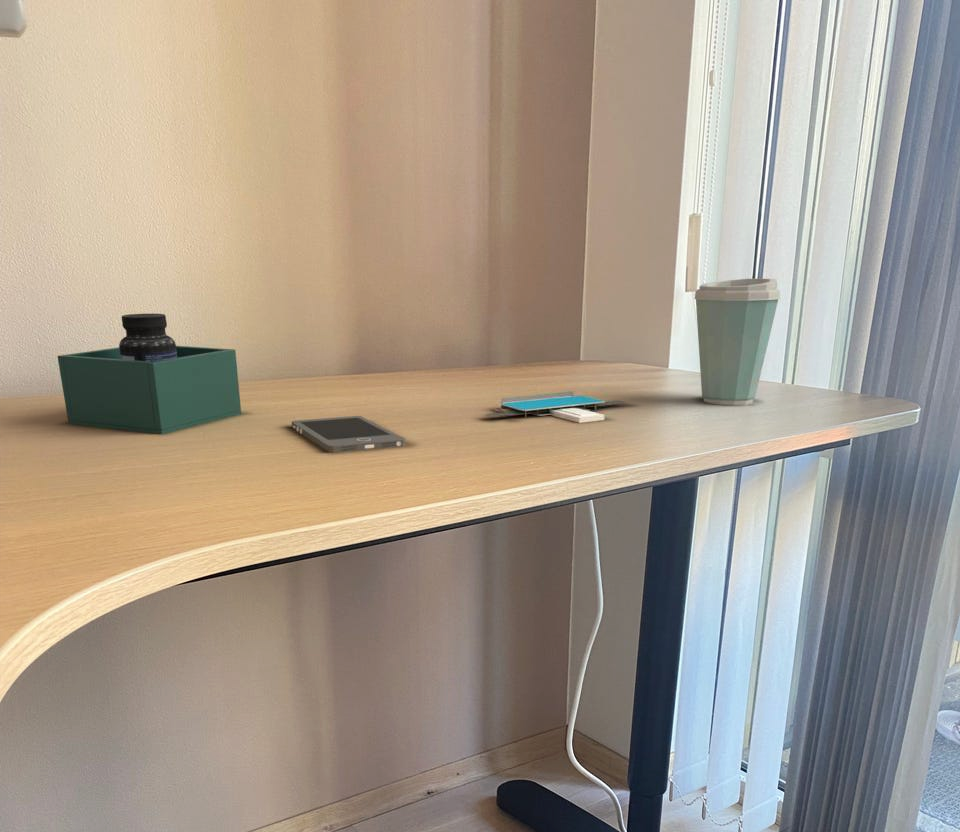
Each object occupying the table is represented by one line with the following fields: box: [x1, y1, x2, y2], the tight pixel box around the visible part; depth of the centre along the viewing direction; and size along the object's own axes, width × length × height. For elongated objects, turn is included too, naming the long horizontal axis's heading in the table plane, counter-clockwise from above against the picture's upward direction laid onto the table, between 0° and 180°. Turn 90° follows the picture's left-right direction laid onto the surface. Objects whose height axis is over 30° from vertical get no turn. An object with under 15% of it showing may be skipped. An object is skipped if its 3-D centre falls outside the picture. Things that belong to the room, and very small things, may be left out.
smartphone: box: [291, 415, 406, 454], centre depth 102 cm, size 15×8×1 cm, turn 25°
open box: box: [57, 345, 242, 435], centre depth 109 cm, size 14×14×8 cm
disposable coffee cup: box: [693, 278, 781, 406], centre depth 121 cm, size 11×11×15 cm
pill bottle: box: [118, 313, 177, 362], centre depth 109 cm, size 6×6×11 cm
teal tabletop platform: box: [485, 390, 625, 424], centre depth 115 cm, size 20×12×2 cm, turn 121°
